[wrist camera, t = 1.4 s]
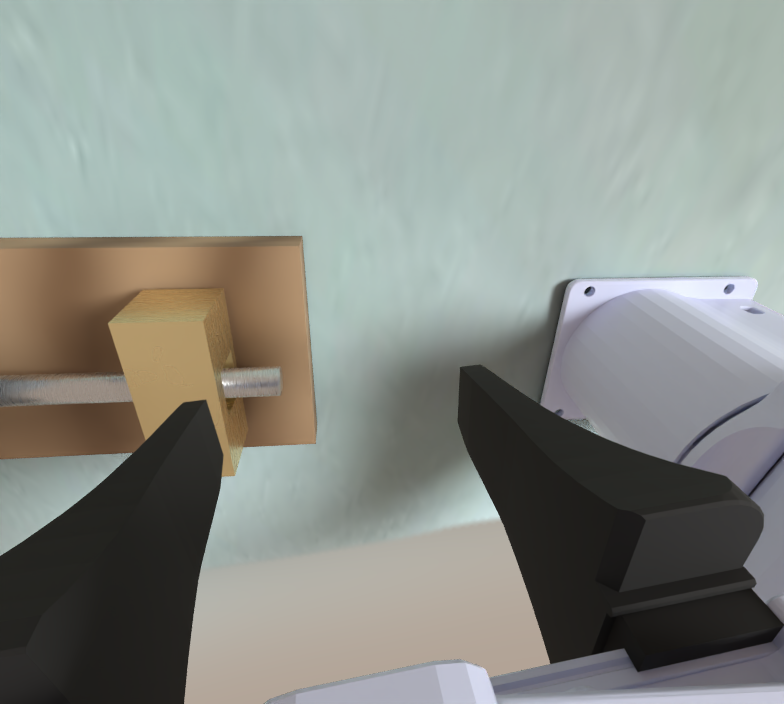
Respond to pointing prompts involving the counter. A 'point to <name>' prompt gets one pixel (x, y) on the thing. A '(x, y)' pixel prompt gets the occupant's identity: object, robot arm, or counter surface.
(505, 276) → the counter surface
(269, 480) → the counter surface
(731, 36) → the counter surface
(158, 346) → the nut
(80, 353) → the base
